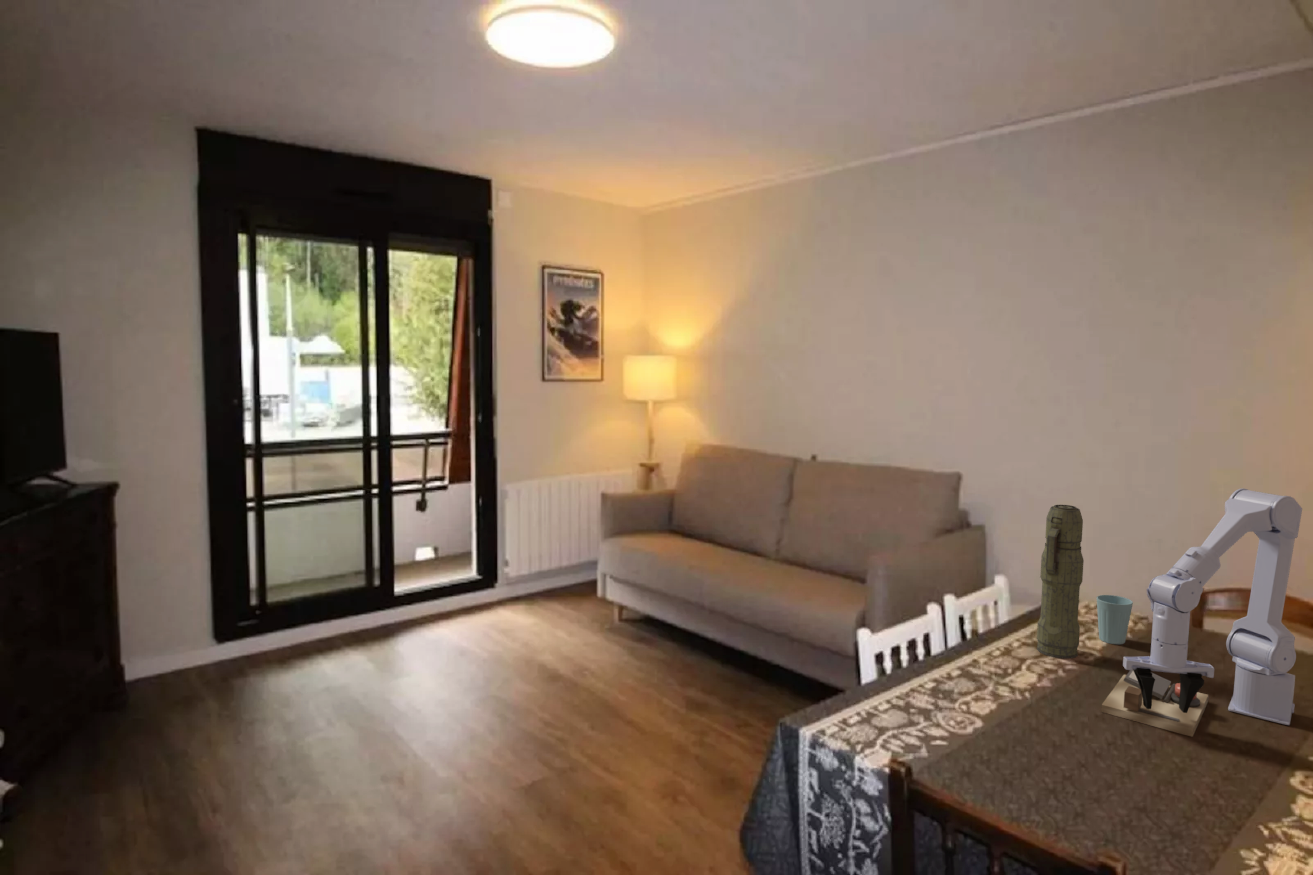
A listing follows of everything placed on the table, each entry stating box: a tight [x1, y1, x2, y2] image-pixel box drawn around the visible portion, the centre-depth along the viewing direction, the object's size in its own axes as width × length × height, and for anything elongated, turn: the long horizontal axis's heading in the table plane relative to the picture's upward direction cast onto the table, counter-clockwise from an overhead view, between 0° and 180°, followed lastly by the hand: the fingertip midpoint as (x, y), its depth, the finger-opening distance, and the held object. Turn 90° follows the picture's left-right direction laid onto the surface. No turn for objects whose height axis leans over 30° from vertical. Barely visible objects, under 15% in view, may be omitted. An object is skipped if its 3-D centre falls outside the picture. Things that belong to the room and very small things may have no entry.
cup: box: [1096, 594, 1134, 645], centre depth 190 cm, size 8×8×10 cm
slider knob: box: [1124, 686, 1142, 711], centre depth 151 cm, size 2×4×3 cm, turn 138°
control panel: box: [1100, 674, 1209, 738], centre depth 155 cm, size 15×20×2 cm
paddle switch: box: [1124, 669, 1172, 699], centre depth 159 cm, size 7×9×1 cm
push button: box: [1174, 682, 1197, 700], centre depth 154 cm, size 4×4×2 cm
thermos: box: [1036, 504, 1084, 660], centre depth 182 cm, size 9×12×35 cm
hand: (1164, 708), depth 147 cm, fingers open, 5 cm apart
